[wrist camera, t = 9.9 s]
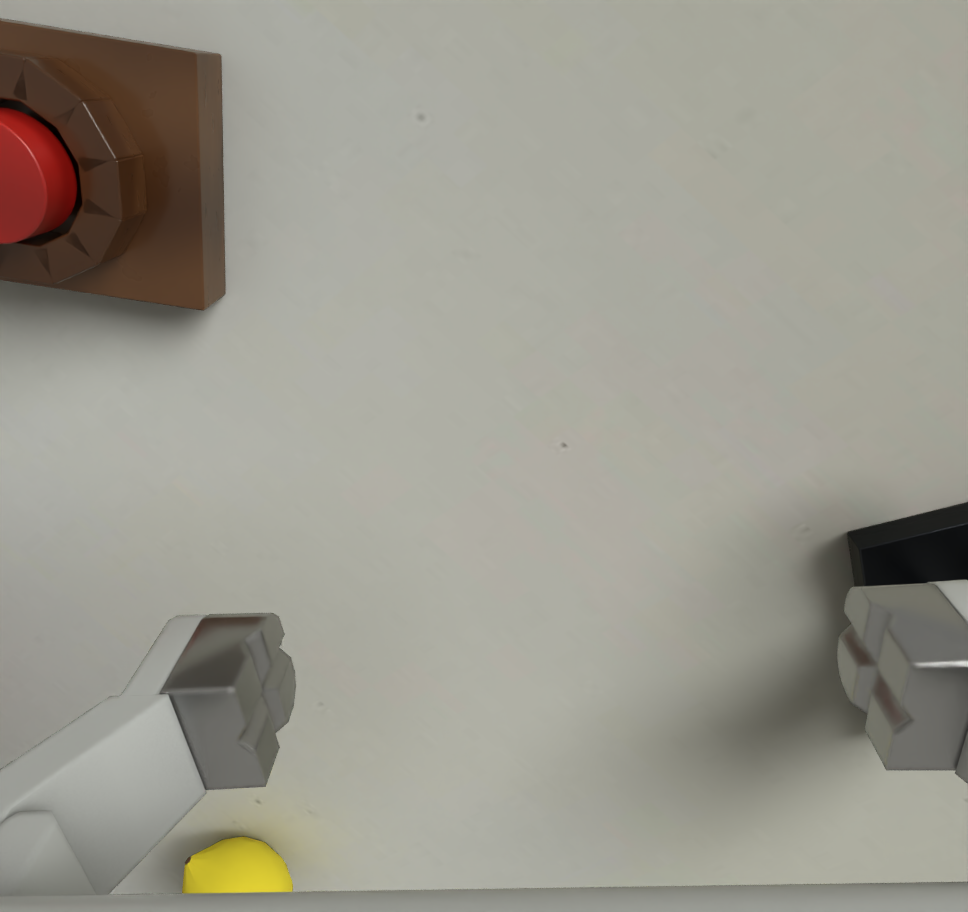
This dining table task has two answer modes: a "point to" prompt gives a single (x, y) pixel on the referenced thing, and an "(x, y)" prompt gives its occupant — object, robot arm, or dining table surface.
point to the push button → (32, 178)
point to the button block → (123, 164)
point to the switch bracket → (912, 549)
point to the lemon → (236, 869)
